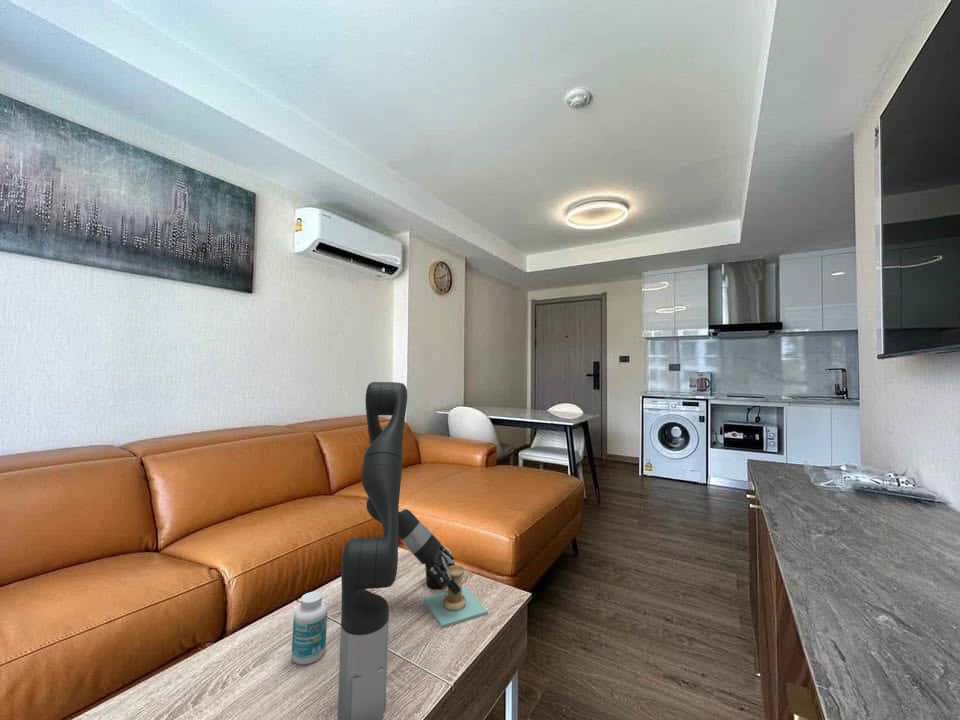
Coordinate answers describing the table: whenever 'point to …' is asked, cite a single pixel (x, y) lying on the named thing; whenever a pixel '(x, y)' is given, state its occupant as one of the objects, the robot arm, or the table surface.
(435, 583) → the coffee mug
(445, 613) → the mat
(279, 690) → the table surface
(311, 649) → the pill bottle
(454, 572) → the tan chess pawn
